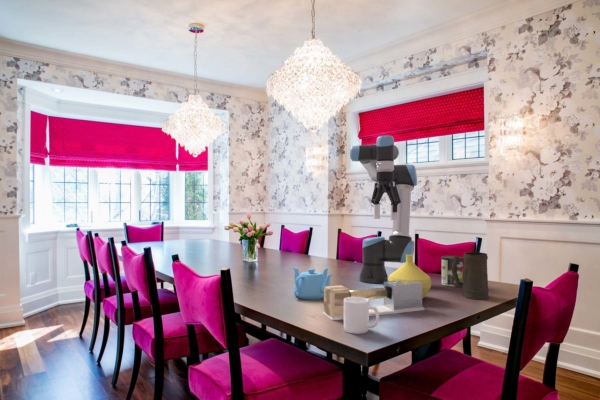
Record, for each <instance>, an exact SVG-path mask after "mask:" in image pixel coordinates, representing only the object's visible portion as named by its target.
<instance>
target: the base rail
mask: <svg viewBox="0 0 600 400" xmlns="http://www.w3.org/2000/svg"><path fill="white" fill-rule="evenodd" d="M374 306H375V307H376V308H377V310H378V312H379V316H383V315H393V314H401V313H403V314H404V313H411V312H412V313H413V312H419V311H425V307H423V306H422V308H412V309H403V310H394V311H393V310H391V309H389V308H387V307H385V306H384V304H382V305H374ZM321 314H322V315H323V316H325V317H326V318H328V319H329V320H330V321H340V320H344V316H340V317H330V316H329V315H327V314H326V313H324V310H323V311H321ZM374 316H375V317H376V314H375V311H374V310H373V309H369V317H374Z"/></svg>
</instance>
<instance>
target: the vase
mask: <svg viewBox="0 0 600 400" xmlns="http://www.w3.org/2000/svg"><path fill="white" fill-rule="evenodd" d="M400 280H414V281H418V282H421V283H422V300H423V299H424V298H425V297H426V296H427V295H428V294H429V291H430V290H431V287H432V279H431V277H430V276H429V275H428V274H427V273H425V272H424V271H423V269H421V268H420V267H418V266H417V265H416V264H415V263H414V254H413V255H406V262H405V263H403V264H402V265H401V266H400V267H398V268H397V269H396V270H395V271H393V272H391V273H390V274H389V275H388V281H400ZM388 281H387V282H388Z"/></svg>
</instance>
